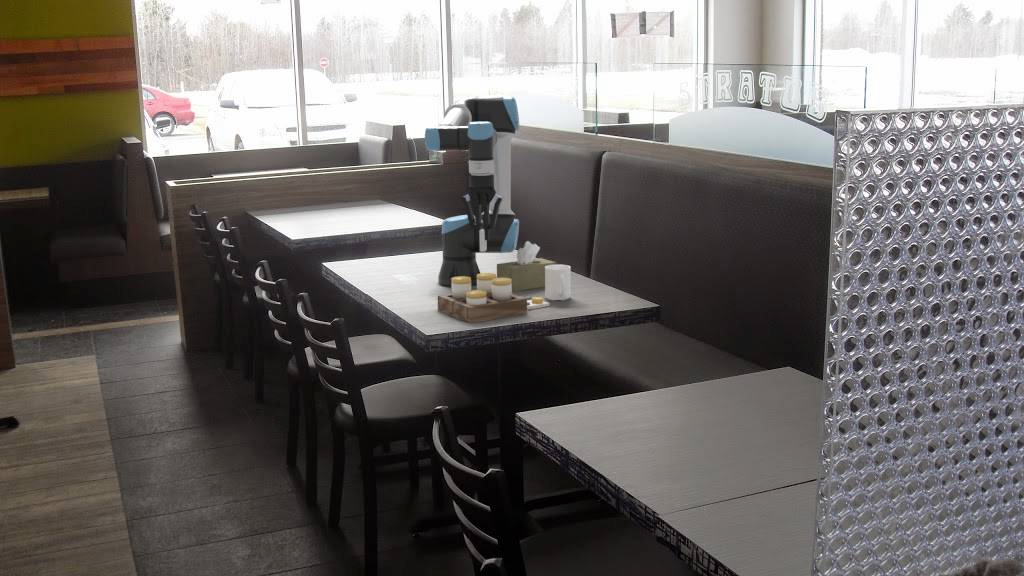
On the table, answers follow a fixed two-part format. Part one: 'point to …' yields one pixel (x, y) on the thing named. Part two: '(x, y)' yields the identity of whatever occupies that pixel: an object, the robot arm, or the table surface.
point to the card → (535, 302)
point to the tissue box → (525, 269)
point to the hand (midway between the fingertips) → (483, 250)
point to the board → (482, 308)
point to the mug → (557, 282)
